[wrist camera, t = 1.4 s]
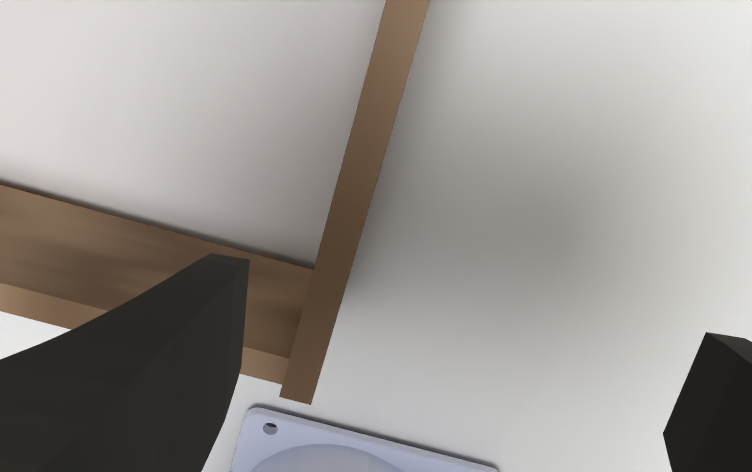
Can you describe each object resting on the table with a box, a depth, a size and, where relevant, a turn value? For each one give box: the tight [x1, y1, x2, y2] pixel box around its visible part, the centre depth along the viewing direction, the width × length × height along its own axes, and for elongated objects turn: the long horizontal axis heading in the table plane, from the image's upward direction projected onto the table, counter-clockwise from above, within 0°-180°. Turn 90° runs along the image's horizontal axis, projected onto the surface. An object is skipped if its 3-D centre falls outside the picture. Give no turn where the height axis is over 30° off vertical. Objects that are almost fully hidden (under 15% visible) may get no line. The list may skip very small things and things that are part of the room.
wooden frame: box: [0, 0, 430, 405], centre depth 17 cm, size 12×13×6 cm
